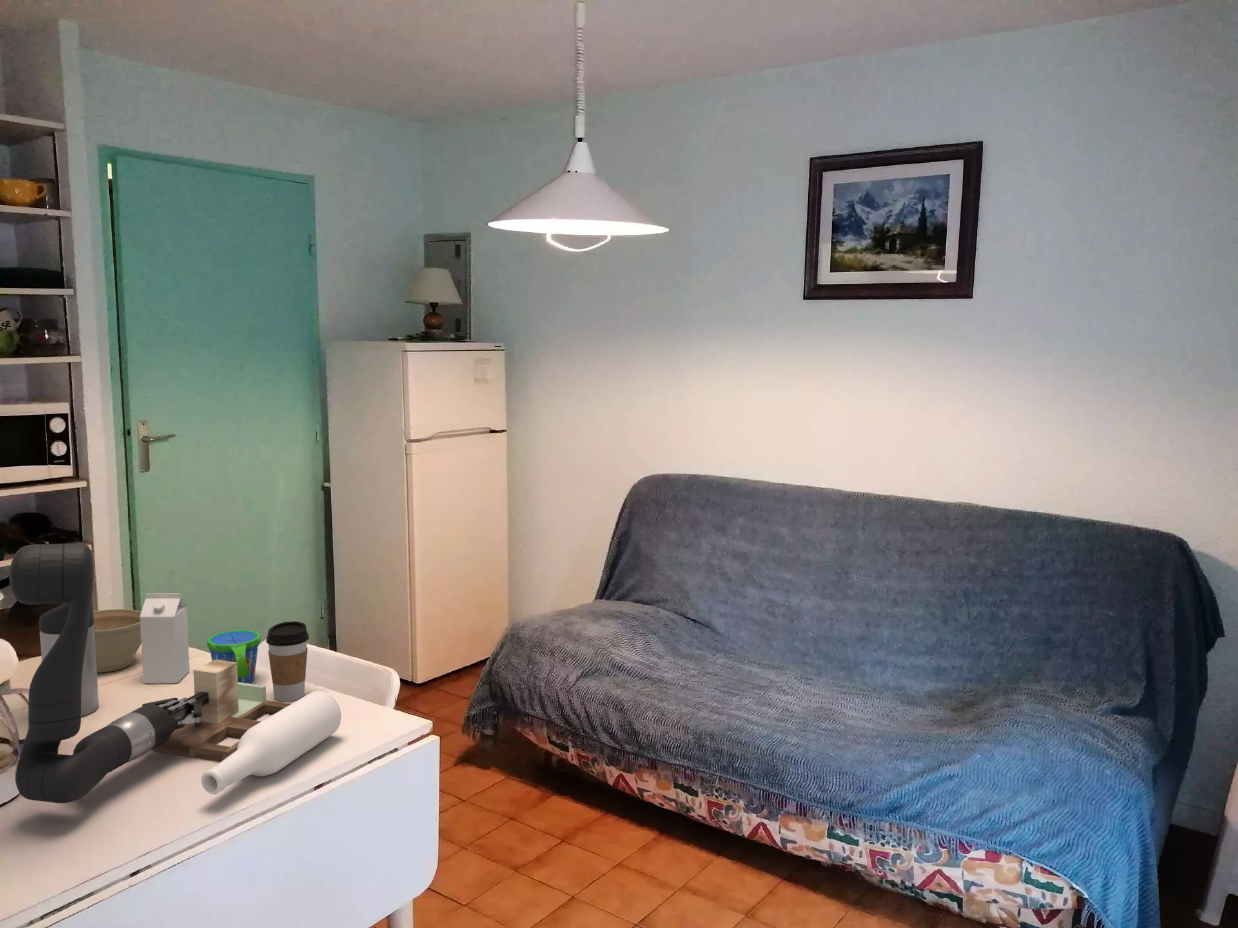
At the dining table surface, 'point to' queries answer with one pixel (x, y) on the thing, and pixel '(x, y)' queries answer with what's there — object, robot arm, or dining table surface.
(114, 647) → the planter bowl
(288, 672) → the coffee cup
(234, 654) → the snack cup
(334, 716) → the alcohol
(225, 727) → the brown wooden flat frame
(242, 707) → the green l-shaped block
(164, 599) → the milk carton
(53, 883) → the dining table surface
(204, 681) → the maple block
